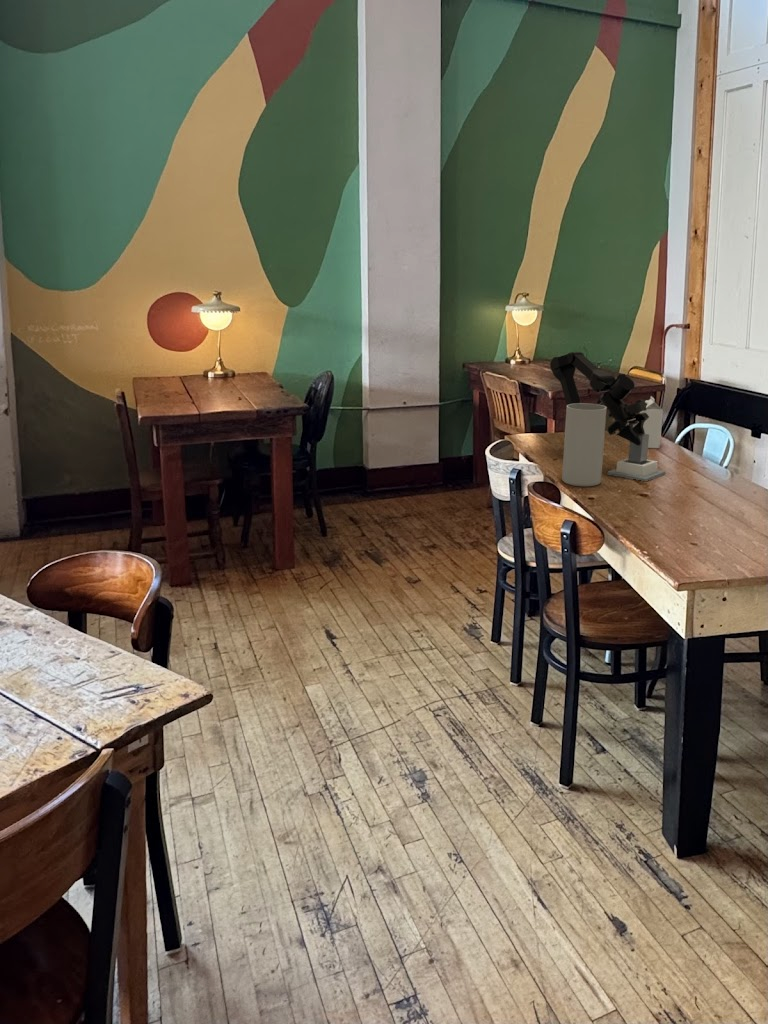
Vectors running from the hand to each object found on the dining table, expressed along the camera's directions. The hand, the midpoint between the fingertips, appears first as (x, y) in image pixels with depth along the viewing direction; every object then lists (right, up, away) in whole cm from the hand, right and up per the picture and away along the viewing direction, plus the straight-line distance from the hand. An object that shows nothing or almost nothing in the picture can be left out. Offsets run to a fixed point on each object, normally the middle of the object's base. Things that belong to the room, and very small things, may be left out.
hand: (642, 443), depth 296 cm
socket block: (-1, -10, +4) cm, 11 cm away
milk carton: (+15, +2, +46) cm, 48 cm away
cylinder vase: (-22, -13, -6) cm, 26 cm away
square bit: (-1, -6, +3) cm, 7 cm away
